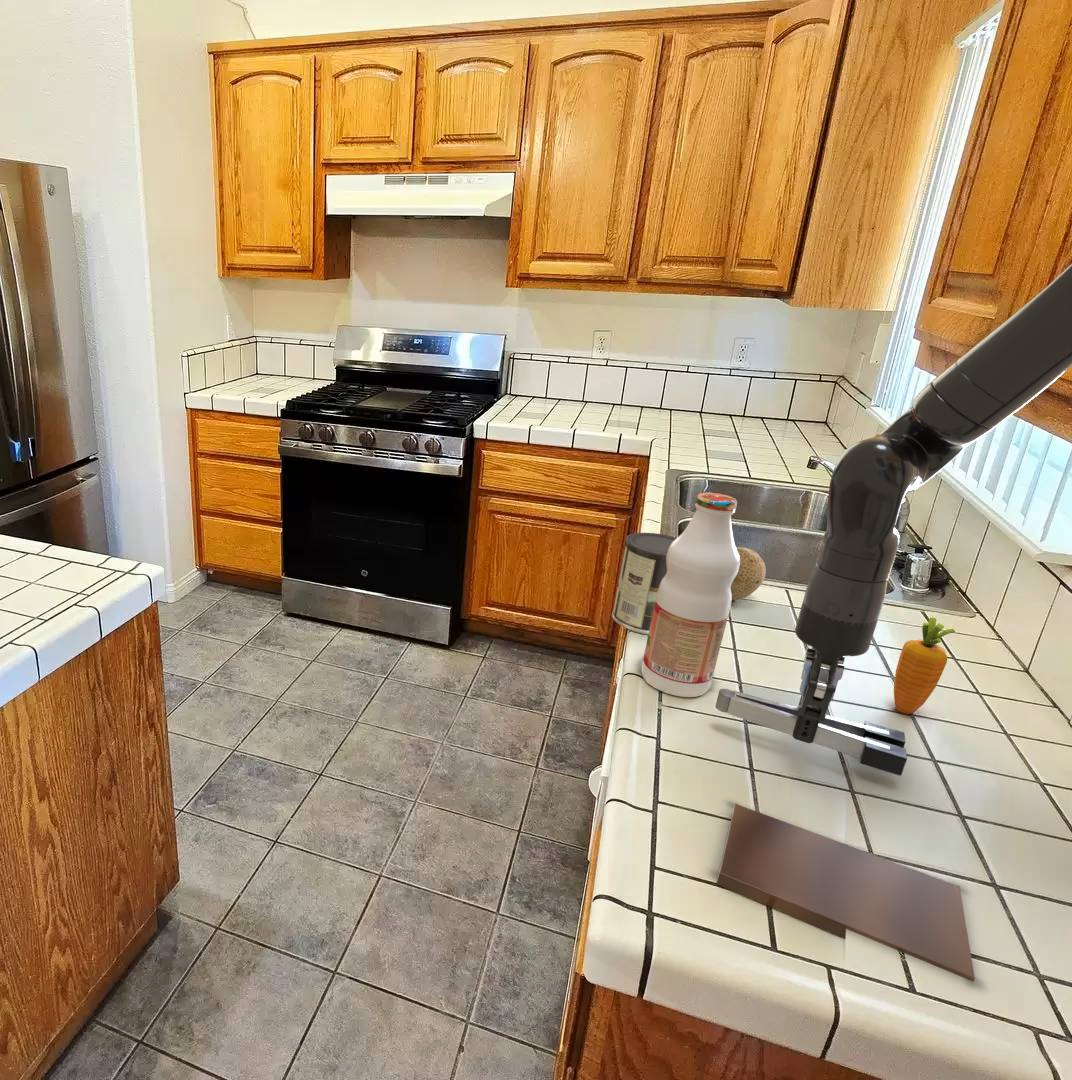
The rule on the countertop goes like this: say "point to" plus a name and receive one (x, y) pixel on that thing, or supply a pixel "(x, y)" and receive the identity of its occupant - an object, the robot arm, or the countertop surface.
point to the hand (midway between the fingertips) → (803, 731)
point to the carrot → (919, 668)
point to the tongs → (823, 730)
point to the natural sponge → (747, 574)
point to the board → (845, 889)
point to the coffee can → (640, 580)
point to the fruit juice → (693, 601)
